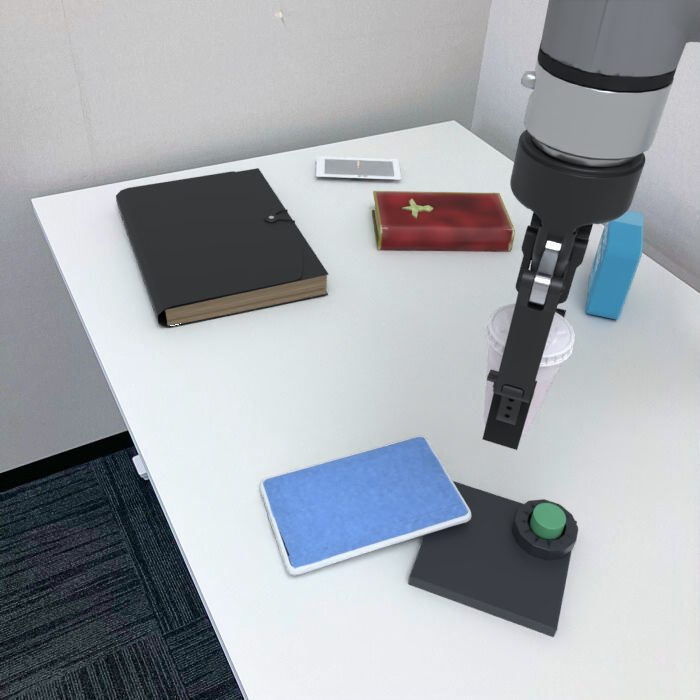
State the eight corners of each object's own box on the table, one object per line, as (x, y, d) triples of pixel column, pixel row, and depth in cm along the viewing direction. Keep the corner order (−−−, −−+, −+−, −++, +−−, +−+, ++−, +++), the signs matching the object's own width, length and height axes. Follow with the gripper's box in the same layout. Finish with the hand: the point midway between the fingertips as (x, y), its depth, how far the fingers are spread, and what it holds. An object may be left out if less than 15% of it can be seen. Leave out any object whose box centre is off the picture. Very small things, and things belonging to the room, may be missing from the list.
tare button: (564, 519, 75) (568, 508, 74) (559, 544, 73) (563, 533, 72) (532, 509, 76) (536, 498, 75) (526, 533, 74) (530, 522, 73)
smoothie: (498, 383, 64) (533, 243, 55) (562, 424, 61) (610, 282, 52) (450, 419, 60) (479, 275, 51) (515, 464, 57) (558, 319, 48)
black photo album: (330, 271, 104) (155, 307, 96) (329, 295, 106) (159, 332, 99) (259, 165, 127) (113, 188, 119) (260, 187, 129) (118, 210, 122)
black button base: (574, 528, 78) (581, 511, 76) (554, 638, 68) (561, 621, 66) (444, 486, 81) (448, 468, 79) (407, 584, 72) (411, 567, 70)
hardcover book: (510, 253, 117) (516, 229, 115) (377, 251, 116) (379, 228, 113) (495, 213, 126) (499, 191, 124) (371, 211, 125) (373, 189, 122)
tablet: (289, 581, 71) (288, 573, 70) (257, 485, 80) (256, 477, 79) (474, 524, 75) (475, 515, 75) (424, 440, 85) (424, 431, 84)
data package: (589, 272, 114) (611, 202, 107) (620, 278, 113) (644, 208, 106) (584, 317, 106) (607, 245, 98) (617, 324, 105) (643, 252, 97)
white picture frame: (316, 161, 138) (316, 150, 136) (397, 164, 138) (398, 153, 137) (315, 182, 132) (316, 170, 130) (400, 185, 132) (401, 173, 131)
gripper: (548, 75, 53) (491, 330, 68) (485, 196, 39) (430, 483, 54) (659, 95, 51) (574, 352, 66) (633, 230, 37) (534, 517, 52)
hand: (510, 411), depth 60 cm, fingers closed on smoothie, 6 cm apart
